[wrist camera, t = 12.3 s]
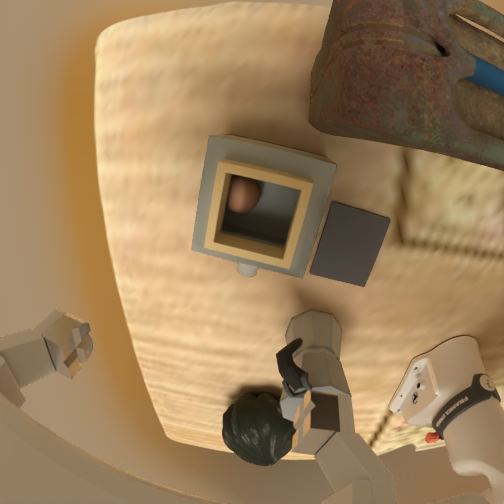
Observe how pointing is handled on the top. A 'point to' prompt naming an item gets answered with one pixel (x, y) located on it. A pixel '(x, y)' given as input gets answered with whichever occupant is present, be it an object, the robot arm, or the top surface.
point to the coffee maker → (310, 359)
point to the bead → (243, 194)
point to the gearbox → (262, 205)
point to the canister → (413, 77)
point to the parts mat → (349, 244)
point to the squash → (258, 429)
